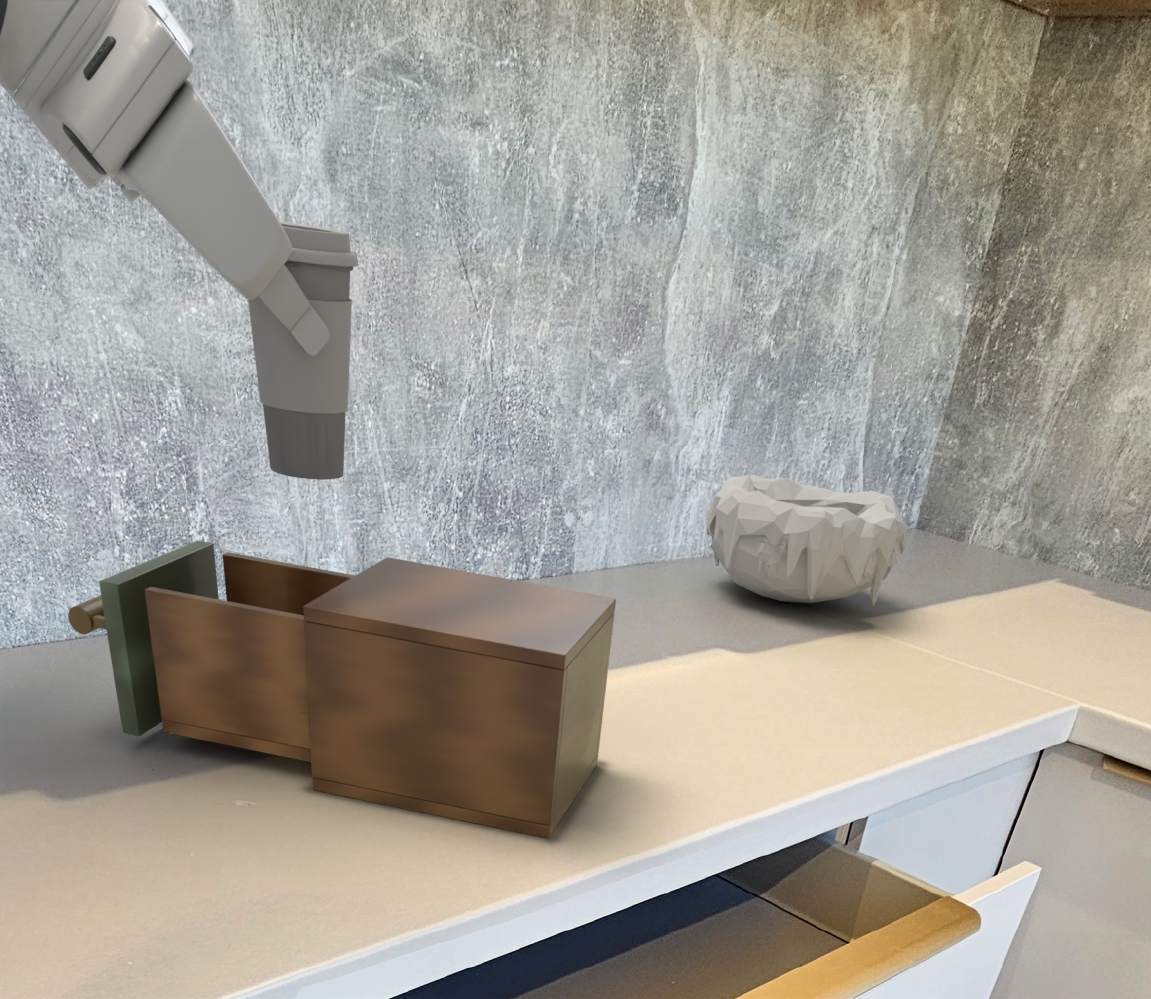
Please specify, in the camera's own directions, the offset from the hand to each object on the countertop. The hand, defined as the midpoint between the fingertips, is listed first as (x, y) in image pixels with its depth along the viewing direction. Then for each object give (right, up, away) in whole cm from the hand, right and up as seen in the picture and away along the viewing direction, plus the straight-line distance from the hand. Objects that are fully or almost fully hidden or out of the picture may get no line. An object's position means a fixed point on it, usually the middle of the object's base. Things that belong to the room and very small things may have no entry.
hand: (311, 338), depth 70 cm
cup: (-1, -5, +5) cm, 7 cm away
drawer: (-7, -19, +8) cm, 22 cm away
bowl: (+39, +13, +51) cm, 66 cm away
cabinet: (+8, -24, +7) cm, 26 cm away
